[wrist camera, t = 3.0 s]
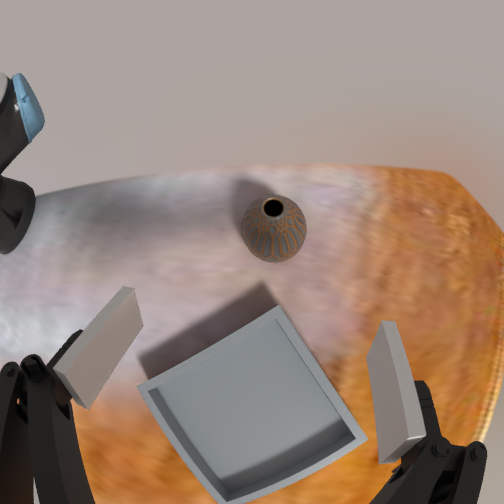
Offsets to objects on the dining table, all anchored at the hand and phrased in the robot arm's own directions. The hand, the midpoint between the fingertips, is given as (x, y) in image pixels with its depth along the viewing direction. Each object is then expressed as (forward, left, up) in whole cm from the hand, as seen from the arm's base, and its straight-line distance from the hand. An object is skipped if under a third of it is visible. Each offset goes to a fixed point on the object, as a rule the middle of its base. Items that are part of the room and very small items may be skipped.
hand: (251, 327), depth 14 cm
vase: (-9, +7, -17) cm, 20 cm away
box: (+7, -6, -17) cm, 20 cm away
